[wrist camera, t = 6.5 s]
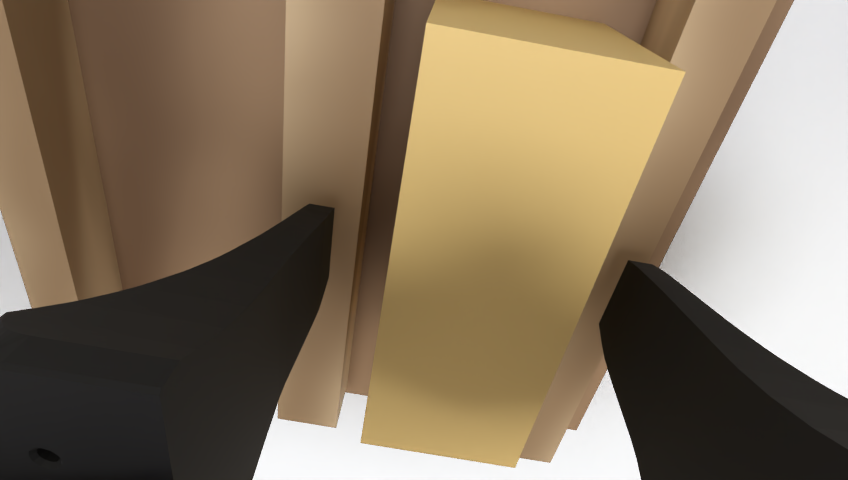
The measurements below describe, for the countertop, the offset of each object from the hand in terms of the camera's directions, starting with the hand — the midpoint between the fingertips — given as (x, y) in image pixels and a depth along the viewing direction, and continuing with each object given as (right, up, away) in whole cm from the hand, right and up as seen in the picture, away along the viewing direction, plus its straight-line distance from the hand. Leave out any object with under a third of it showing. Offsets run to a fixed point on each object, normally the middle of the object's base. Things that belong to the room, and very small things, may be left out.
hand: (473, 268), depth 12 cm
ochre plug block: (0, +2, +2) cm, 3 cm away
